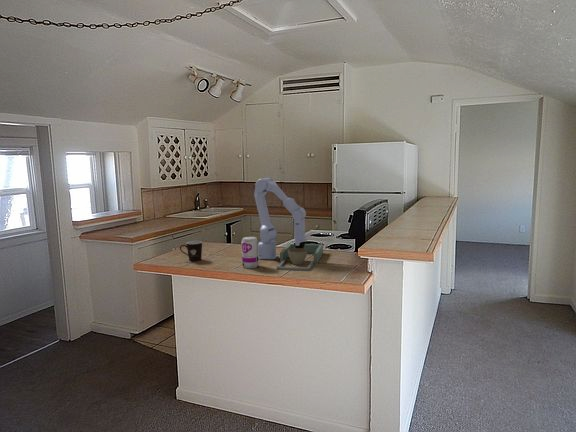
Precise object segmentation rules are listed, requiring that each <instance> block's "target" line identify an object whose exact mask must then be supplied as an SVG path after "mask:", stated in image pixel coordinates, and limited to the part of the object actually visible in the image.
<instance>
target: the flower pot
mask: <svg viewBox="0 0 576 432" xmlns="http://www.w3.org/2000/svg"><path fill="white" fill-rule="evenodd" d="M288 254H289V256H288V257H289V260H290V262H291V264H292V265H295V266H296V265H297V266H301V265H303V264H304V262H305V259H306V258H307V255H308V253H307V250H306V249H302V248H294V249H289V250H288Z"/></svg>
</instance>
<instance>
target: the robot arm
mask: <svg viewBox="0 0 576 432" xmlns="http://www.w3.org/2000/svg"><path fill="white" fill-rule="evenodd" d="M254 186H255V188H254V193H253V197H254V200H255V203H256V208H257V209H256V210H257V213H258V216H259V221H260V224H261V226H260V229H259V233H260V236H259V238H260V240H261V241H258V260H275V259H277V257H278V258H279V255H278V254H277V249H276V248H277V247H276V246H277V245H276V239H277V237H278V231H277V230H276V229H275V226H274V225H273V224H272V222H271V217H270V213H269V210H268V205H267V200H266V198H265V197H266V194H267V193H268V192H272V193H273V194H274V195H275V196H276V197H278V198H279V200H280V201H282V202H283V203H282V204H283V205H282V206H283V207H284V208H286V210H287V211H288V212H289V213H290V214H291V217H292V220H293V231H294V233H293V234H294V235H293V237H294V239H293V241H294V243H293V244H294V245H295V247H296V248H302V249H304V246H305V244H306V242H308V238H306V222H305V221H306V220H305V217H306V216H307V211H306V210H305V208H304V207H301V205H299V204H297V202H296V200H295V198H292V197H288V196H287V194H285V192H284V191H283V190H282V189H281V188H280V187H279V185H278V184H277V182H276V181H274V179H273V178H271V177H264V178H259V179H257V181H256V182H255V183H254Z"/></svg>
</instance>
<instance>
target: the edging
mask: <svg viewBox="0 0 576 432" xmlns="http://www.w3.org/2000/svg"><path fill="white" fill-rule="evenodd" d="M285 263H286V259H285V260H283V261H282V262H279V264H278V265H277V266H276V270H277V271H278V270H281V271H309V272H310V271H311V268H313V265H314V264H315V263H314V260H311V261H310V262H309V264H308V265H307V266H306V267H301V266H300V267H299V266H284V264H285Z"/></svg>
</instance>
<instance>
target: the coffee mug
mask: <svg viewBox="0 0 576 432" xmlns="http://www.w3.org/2000/svg"><path fill="white" fill-rule="evenodd" d="M182 247H185V248H186V250H187V253H186V252H184V251H183V250H182ZM179 250H180V252H182V254H184V255H186V256H188V260H189V262H192V263H194V262H195V263H196V262H200V261H202V253H203V241H201V240H192V241H187V242H186V245H185V244H182V245H181V246H180V247H179Z"/></svg>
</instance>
